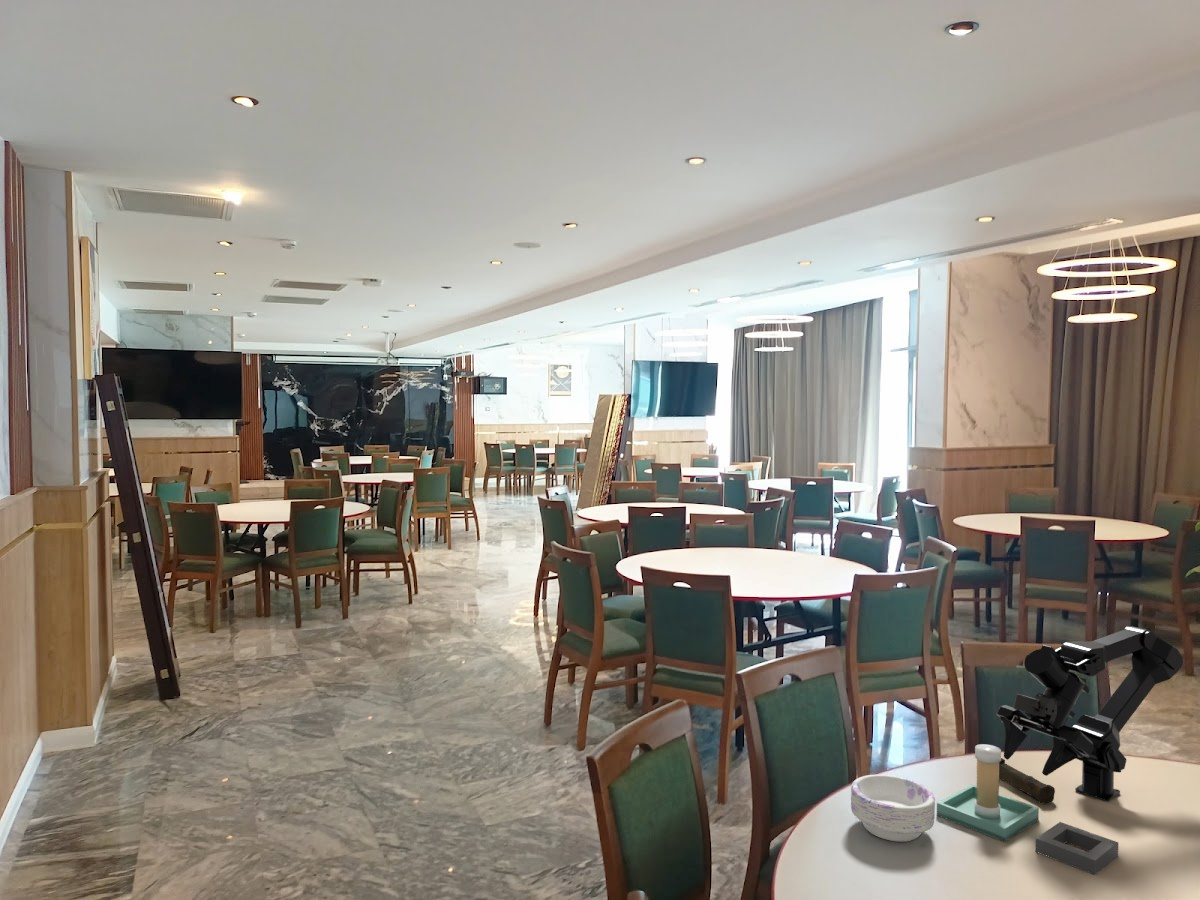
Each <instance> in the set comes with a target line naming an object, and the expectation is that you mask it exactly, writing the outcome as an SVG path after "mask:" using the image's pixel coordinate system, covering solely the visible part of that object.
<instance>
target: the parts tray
mask: <svg viewBox="0 0 1200 900" xmlns="http://www.w3.org/2000/svg"><path fill="white" fill-rule="evenodd" d="M976 787H977V785H974V784H970V785H969V784H968V786H966V787H964V788H962V789H960V790H958V791H957V792H954V793H953V794H951V795H949V796H947V797H946V798H944V799H942V800H940V801H938V802H936V816H938V817H940V818H943V819H944V820H948V821H950V822H953V823H956V824H958V825H960V826H963V827H966V828H968V829H971V830H974V831H976V832H978V833H981V834H984V835H986V836H989V837H991V838H993V839H996V840H999V841H1001V842H1004V843H1005V842H1007V841H1008V840H1010V839H1013V837H1015V836H1016V835H1018V834H1020V833H1021V832H1023V831H1024V830H1025V829H1027V828H1028V827H1031V825H1033V824H1035V823H1037V822H1038V821H1039V813H1040V812H1039V809H1040V807H1037V806H1035V805H1032V804H1029V803H1026V802H1023V801H1020V800H1018V799H1015V798H1012V797H1008V796H1006V795H1003V794H1001V793H999V804H1000V817H999V818H997V819H987V818H983V817H980V816H978V815H977V814H976V813H975V800H976ZM1037 820H1038V821H1037Z"/></svg>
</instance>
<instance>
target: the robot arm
mask: <svg viewBox="0 0 1200 900" xmlns="http://www.w3.org/2000/svg"><path fill="white" fill-rule="evenodd" d="M1130 654H1131V657H1130V658H1131V670H1130V671H1129V673H1128V674H1127V675H1126V676H1125V677H1124V679H1123V681H1122V682H1121V683H1120V684H1119V686H1118V687H1117V688H1116V690H1114V691H1113V693H1112V695H1111V696H1110V697H1109V699H1107V701H1106V702H1105V704H1104V705H1103V707H1102V708H1101V709H1100V710H1099V711H1098V713H1097V714H1096V715H1094V716H1090V715H1086V714H1082V715H1081V716H1080V717H1079V719H1078V720H1077V721H1076V723H1075V724H1074V725H1072V726H1068V725H1066V723H1067V721H1068V718H1071V719H1074V717H1075V716H1076V713H1075V712H1074V711H1073V708H1074V707H1075V705H1076V703H1077V701H1078V698H1079V697H1080V695H1081V693H1082V692H1084V693H1086V694H1089V693H1090V687H1089V685H1088V683H1087V679H1086V678H1083V677H1079V676H1078V675H1077V674H1081V675H1084V676H1087V677H1095V676H1096V675H1098V674H1100V673H1102V672H1103V671H1105V670H1106V667H1107V664H1108V663H1109V662H1111V661H1114V660H1117V659H1119V658H1122V657H1126V656H1128V655H1130ZM1023 662H1024V663H1023V666H1024V668H1025V670H1026V671H1027V672H1028V673H1029V674H1031V676H1032V677H1033V678H1035V680H1037V682H1039V683H1040V684H1041V685H1042V686H1043V687H1045V689H1044V691H1043V693H1040V692H1038V693H1037V694H1036V695H1035V696H1034V697H1031V696H1027V695H1023V694H1020V693H1016V695H1015V698H1014V699H1015V700H1014V703H1013V706H1009V705H1007V704H1005V705H1000V706H999V708H998V710H997V712H996V716H997V717H998V718H999V721H1000V722H1001V724H1002V723H1003V726H1004V730H1005V732H1004V733H1005V734H1004V736H1005V737H1004V739H1005V740H1004V746H1003V747H1004V748H1003V759H1004V760H1008V761H1009V760H1010V759H1011V757H1012V756H1013V755H1015V752H1016V751H1017V750H1018V749H1019V747H1020V746H1021V744H1022V743H1023V742H1024V741H1025V739H1026V738H1027V737H1028V735H1027V734H1026V732H1028V731H1030V730H1032V731H1035V732H1037V733H1040V734H1043V735H1046V736H1049V737H1051V738H1053V739H1052V741H1053V743H1052V745H1053V747H1052V749H1051V752H1050V753H1049V756H1048V757H1047V760H1046V762H1044V763H1045V764H1044V766H1043V769H1042V771H1041V773H1042V775H1044V776H1046V777H1047V776H1048V775H1050V774H1052V773H1053V772H1055V771H1056V770H1058V769H1059V768H1061V767H1063V766H1064V765H1067V764H1068V763H1070V762H1071V761H1073V760H1079V761H1081V762H1082V763H1081V767H1082V768H1081V769H1082V771H1081V773H1082V774H1081V775H1082V776H1081V777H1082V778H1081V779H1082V780H1081V784H1080V785H1077V787H1075V792H1077V793H1081V794H1084V795H1087V796H1090V797H1093V798H1096V799H1098V800H1099V799H1100V800H1102V801H1106V802H1109V801H1111V800H1113V799H1114V798H1116V797H1117V796H1118V795H1120V794H1121V790H1119V789H1116V788H1115V787H1114V785H1115V784H1114V783H1115V781H1114V780H1115V773H1122V770H1123V771H1124V770H1125V768H1126V764H1127V758H1126V757H1125V756H1124V754H1123V752H1121V750H1120V747H1121V739H1120V732H1121V731H1122V730H1123V728H1124V727H1125V725H1127V722H1129V720H1130V719H1131V718H1132V716H1134V713H1135V712H1136V711H1137V710H1138V708H1139V707H1140V705H1142V703H1143V701H1144V700H1145V699H1146V697H1147V696H1148V695H1149V694H1150V692H1151V691H1152V690H1153V688H1154V686H1156V685H1157V684H1160V683H1163V682H1166V681H1169V680H1171V679H1172V678H1173V677H1174V676H1175V675H1177V673H1178V672H1179V671H1180V669H1182V667H1183V664H1184V658H1183V656H1182V654H1181V653H1180V651H1179V649H1177V648H1176V647H1174V646H1173V645H1171V644H1170V643H1168V642H1166V641H1164V640H1162V638H1160V637H1157V635H1156V634H1155V633H1153V632H1152V631H1150V630H1149V629H1145V628H1141V627H1136V626H1133V625H1132V626H1126V627H1125V628H1123V629H1122V630H1119V631H1117V632H1113V633H1111V634H1109V635H1106V636H1102V637H1100V638H1098V639H1095V640H1090V641H1089V640H1088V641H1086V640H1085V641H1084V640H1075V641H1066V642H1064V643H1063V644H1061V645H1060V647H1059V648H1056V649H1055V648H1054V647H1052V646H1050V645H1046V644H1042V646H1041V648H1040V649H1035V650H1033V651H1032V652H1030V653H1029V654H1027V655H1026V656H1025V658H1024V661H1023ZM1075 673H1077V674H1075ZM1023 712H1024V713H1023Z"/></svg>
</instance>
